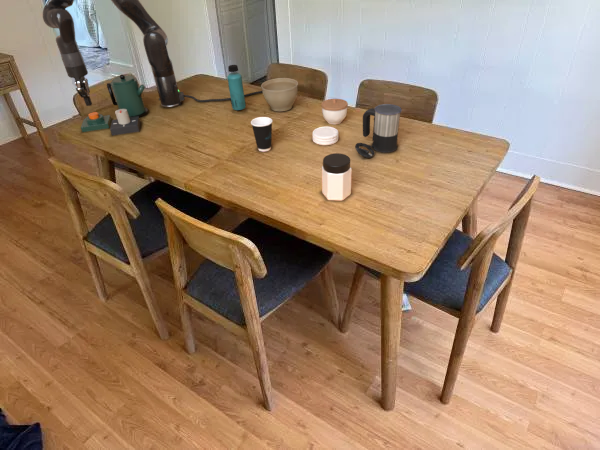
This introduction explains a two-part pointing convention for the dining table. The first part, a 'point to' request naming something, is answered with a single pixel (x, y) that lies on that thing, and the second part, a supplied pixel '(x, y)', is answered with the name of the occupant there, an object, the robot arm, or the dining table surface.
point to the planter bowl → (280, 93)
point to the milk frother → (381, 129)
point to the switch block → (96, 123)
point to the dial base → (125, 126)
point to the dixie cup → (262, 132)
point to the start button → (93, 115)
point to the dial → (122, 116)
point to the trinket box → (334, 110)
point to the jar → (336, 176)
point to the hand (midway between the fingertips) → (89, 105)
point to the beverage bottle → (236, 88)
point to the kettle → (128, 95)
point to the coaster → (325, 135)
